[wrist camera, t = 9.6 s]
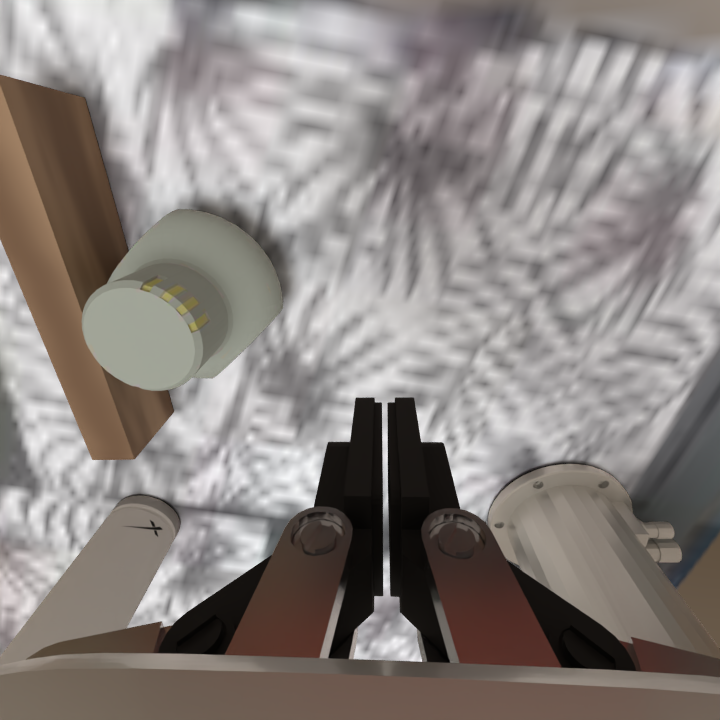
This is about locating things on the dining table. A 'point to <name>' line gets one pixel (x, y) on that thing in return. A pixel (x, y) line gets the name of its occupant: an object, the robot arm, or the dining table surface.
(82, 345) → the board
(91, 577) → the travel mug
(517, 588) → the robot arm
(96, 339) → the air freshener
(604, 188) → the dining table surface
